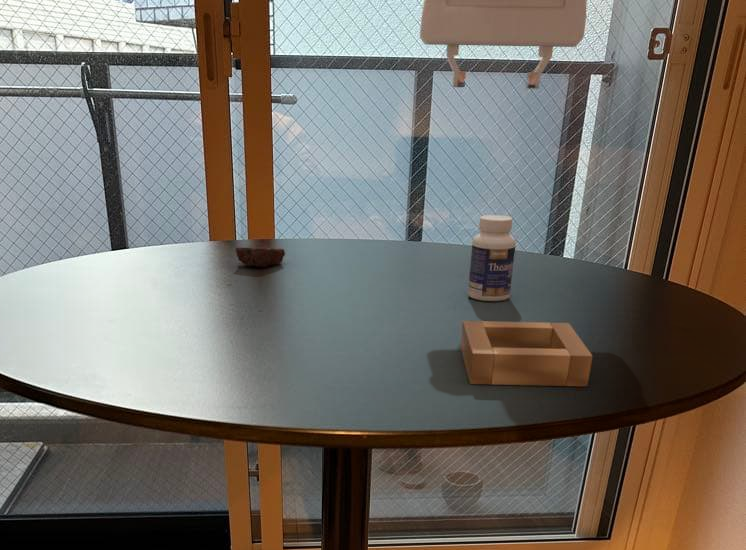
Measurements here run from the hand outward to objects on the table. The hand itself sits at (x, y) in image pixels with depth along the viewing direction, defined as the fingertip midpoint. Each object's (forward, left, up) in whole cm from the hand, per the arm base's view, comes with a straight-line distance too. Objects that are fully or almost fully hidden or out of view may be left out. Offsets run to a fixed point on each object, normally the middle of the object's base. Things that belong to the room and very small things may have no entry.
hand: (495, 88), depth 103 cm
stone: (+32, -4, -24) cm, 40 cm away
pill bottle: (0, +13, -24) cm, 27 cm away
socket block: (0, +41, -23) cm, 47 cm away
